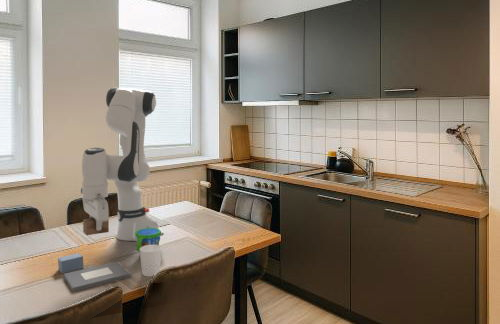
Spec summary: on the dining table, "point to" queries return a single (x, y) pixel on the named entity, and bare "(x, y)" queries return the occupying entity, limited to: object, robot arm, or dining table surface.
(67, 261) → the blue brick
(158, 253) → the white cup
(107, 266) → the baseplate
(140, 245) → the snack cup
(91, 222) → the walnut brick
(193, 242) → the dining table surface
